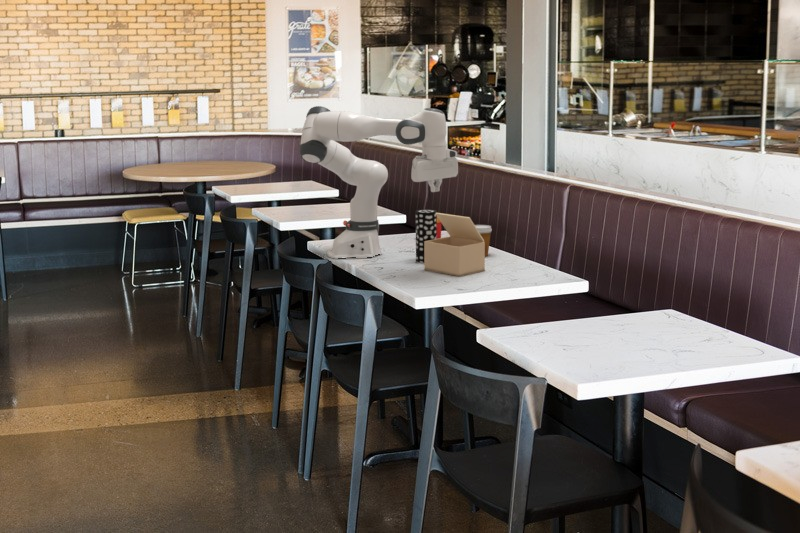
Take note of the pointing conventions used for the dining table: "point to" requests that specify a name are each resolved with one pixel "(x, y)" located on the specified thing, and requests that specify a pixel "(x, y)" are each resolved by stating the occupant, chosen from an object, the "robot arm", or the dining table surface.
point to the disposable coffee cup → (485, 235)
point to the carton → (454, 256)
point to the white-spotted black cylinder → (424, 231)
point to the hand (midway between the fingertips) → (435, 191)
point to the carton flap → (460, 227)
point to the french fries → (438, 228)
